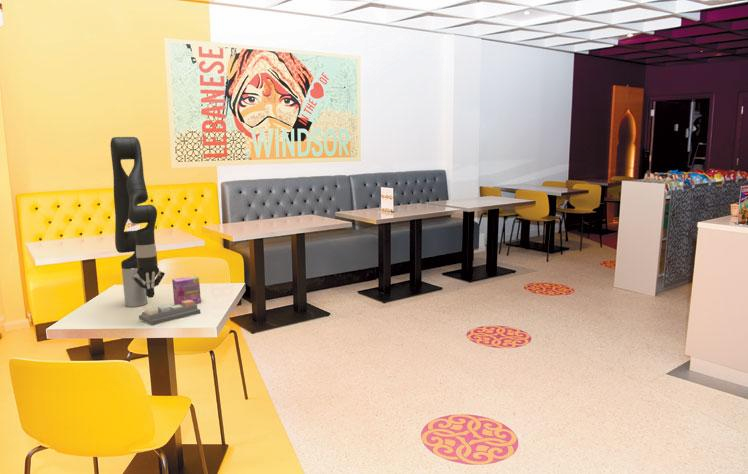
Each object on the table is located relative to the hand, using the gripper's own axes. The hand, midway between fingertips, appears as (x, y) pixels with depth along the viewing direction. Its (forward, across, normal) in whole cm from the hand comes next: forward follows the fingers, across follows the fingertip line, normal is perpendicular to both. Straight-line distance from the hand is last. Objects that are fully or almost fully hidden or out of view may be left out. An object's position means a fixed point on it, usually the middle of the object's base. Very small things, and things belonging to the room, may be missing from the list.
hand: (150, 297), depth 225 cm
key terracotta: (+7, -15, 0) cm, 17 cm away
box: (+10, -21, -12) cm, 26 cm away
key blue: (+7, -5, 0) cm, 9 cm away
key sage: (+8, -10, 0) cm, 13 cm away
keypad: (+10, -8, -1) cm, 13 cm away
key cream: (+7, 0, 0) cm, 7 cm away
